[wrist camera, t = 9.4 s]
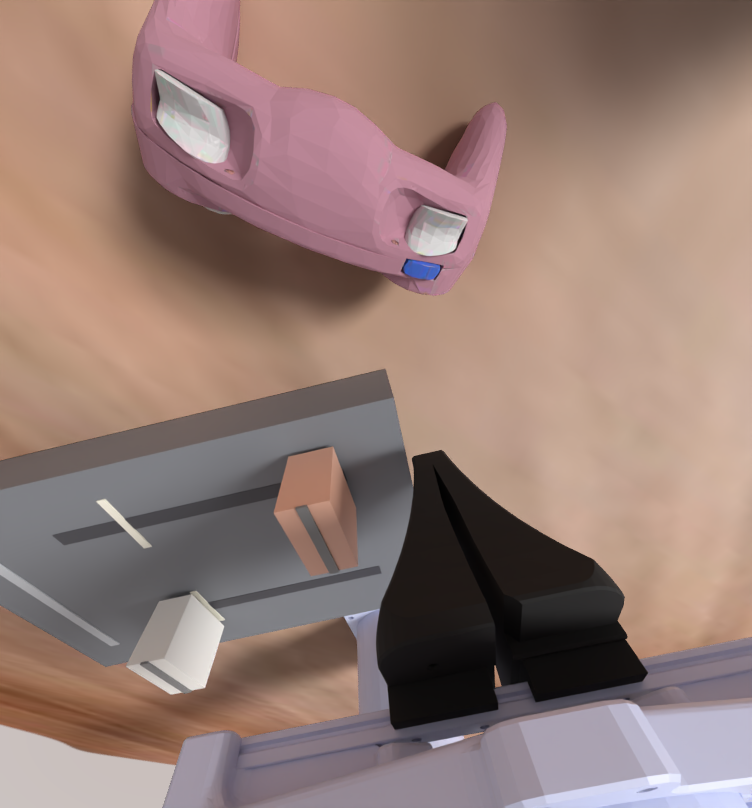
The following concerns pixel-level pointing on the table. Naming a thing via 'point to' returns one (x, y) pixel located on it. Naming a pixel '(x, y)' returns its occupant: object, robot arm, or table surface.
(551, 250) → the table surface
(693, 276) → the table surface
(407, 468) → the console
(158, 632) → the fader white
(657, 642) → the table surface
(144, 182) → the table surface
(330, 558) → the fader terracotta
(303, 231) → the video game controller
